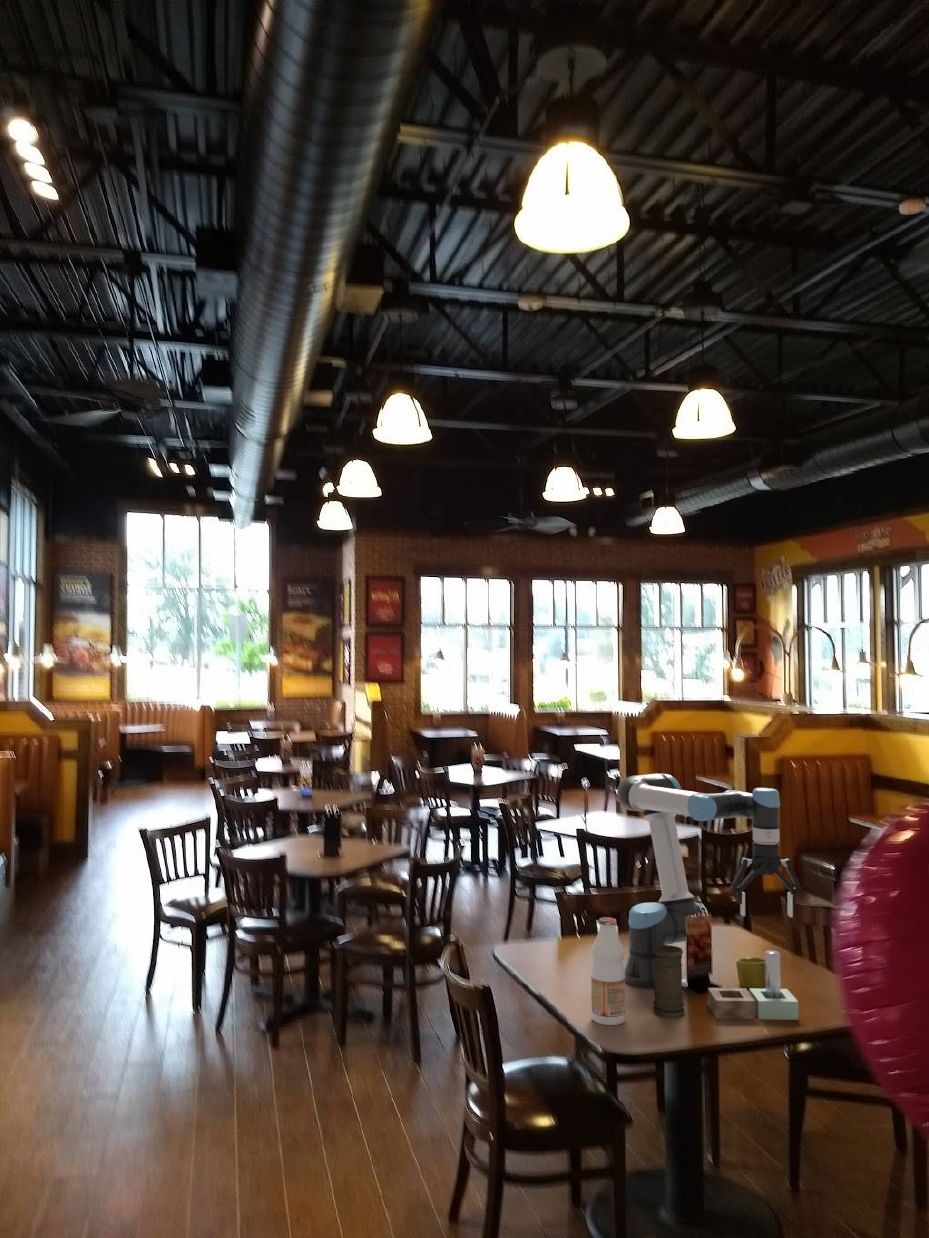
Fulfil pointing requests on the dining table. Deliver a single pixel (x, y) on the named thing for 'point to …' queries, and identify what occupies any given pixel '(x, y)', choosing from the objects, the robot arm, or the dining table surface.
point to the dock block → (775, 1005)
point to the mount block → (731, 1003)
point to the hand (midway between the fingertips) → (766, 915)
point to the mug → (751, 972)
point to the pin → (772, 974)
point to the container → (668, 981)
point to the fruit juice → (608, 975)
